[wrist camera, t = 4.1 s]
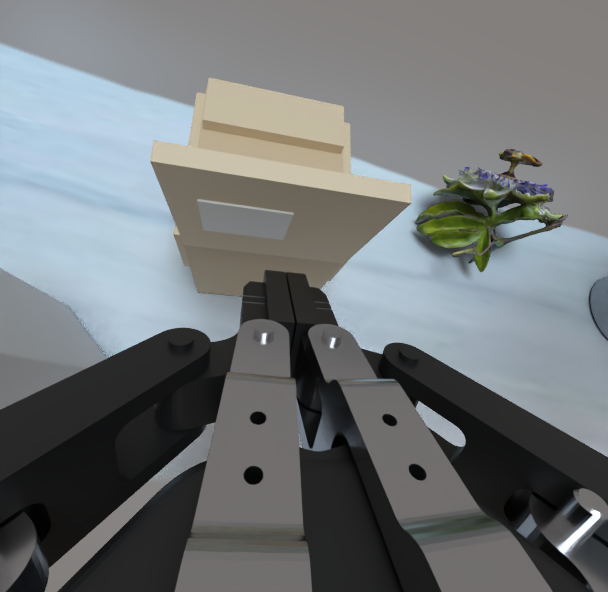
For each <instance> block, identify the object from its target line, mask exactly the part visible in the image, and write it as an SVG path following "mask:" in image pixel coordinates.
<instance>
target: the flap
mask: <svg viewBox="0 0 608 592" xmlns="http://www.w3.org/2000/svg"><path fill="white" fill-rule="evenodd" d="M150 162H151V164H152V166H153V169H154V171H155V174H156V176H157V179H158V181H159V184H160V186H161V189H162V191H163V194H164V196H165V199H166V201H167V204H168V206H169V209H170V211H171V214H172V216H173V219H174V221H175V224H176V226H177V229H178V231H179V234H180V236H181V238H182V241H183V243H184V245H188V246H197V247H205V248H214V249H223V250H231V251H240V252H249V253H257V254H266V255H275V256H283V257H292V258H301V259H309V260H318V261H326V262H335V263H345V262H347V261H348V260H349V259H350V258H351V257H352V256H353V255H354V254H355V253H357V252H358V251H359V250H360V249H361V248H362V247H363V246H364V245H365V244H367V243H368V242H369V241H370V240H371V239H372V238H373V237H374V236H375V235H377V234H378V233H379V232H380V231H381V230H382V229H383V228H384V227H385V226H387V225H388V224H389V223H390V222H391V221H392V220H393V219H394V218H395V217H397V216H398V215H399V214H400V213H401V212H402V211H403V210H404V209H405V208H407V207H408V206H409V205H410V204H411V185H409V184H403V183H398V182H392V181H386V180H380V179H374V178H369V177H363V176H357V175H351V174H346V173H340V172H334V171H328V170H322V169H317V168H311V167H305V166H299V165H294V164H288V163H282V162H276V161H271V160H265V159H259V158H253V157H247V156H242V155H236V154H230V153H224V152H219V151H213V150H207V149H201V148H195V147H190V146H184V145H178V144H172V143H167V142H161V141H155V140H154V142H153V148H152V154H151V160H150Z"/></svg>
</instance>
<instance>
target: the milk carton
mask: <svg viewBox="0 0 608 592" xmlns="http://www.w3.org/2000/svg"><path fill="white" fill-rule="evenodd" d="M105 359H107V357H106V356H105V355H104V353H103V352H102V351H101V349H100V348H99V347H98V345H97V344H96V343H95V341H94V340H93V339H92V337H91V336H90V335H89V333H88V332H87V331H86V329H85V328H84V327H83V325H82V324H81V323H80V321H79V320H78V319H77V317H76V316H75V315H74V313H73V312H72V311H71V309H70V308H69V307H68V306H67V305H66V304H64V303H62V302H60V301H58V300H57V299H55V298H53V297H51V296H49V295H48V294H46V293H44V292H42V291H40V290H39V289H37V288H35V287H33V286H31V285H30V284H28V283H26V282H24V281H22V280H21V279H19V278H17V277H15V276H13V275H12V274H10V273H8V272H6V271H4V270H3V269H1V268H0V410H1V409H3V408H5V407H7V406H9V405H11V404H13V403H15V402H17V401H19V400H21V399H24V398H26V397H28V396H30V395H32V394H34V393H36V392H38V391H40V390H42V389H44V388H47V387H49V386H51V385H53V384H55V383H57V382H59V381H61V380H63V379H65V378H67V377H70V376H72V375H74V374H76V373H78V372H80V371H82V370H84V369H86V368H88V367H90V366H92V365H95V364H97V363H99V362H101V361H103V360H105Z"/></svg>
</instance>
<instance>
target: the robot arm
mask: <svg viewBox="0 0 608 592" xmlns="http://www.w3.org/2000/svg"><path fill="white" fill-rule="evenodd" d="M590 303H591V309H592V313H593V316H594V319H595V321H596V323H597V325H598V327H599V328H600V330H601V331H602V333H603V334H604V335H605V336H606V337H607V338H608V277H604V278H602V279H600V280H599V281H597V282H596V283H595V285H594V287H593V288H592V292H591V300H590ZM418 401H420V402H421V403H423V404H424V405H426V406H427V407H429V408H430V409H432V410H433V411H435V412H436V413H438V414H439V415H441V416H442V417H444V418H445V419H447V420H448V421H450V422H451V423H453V424H454V425H456V426H457V427H458V428H459V429H460V430H461V431H462V432H463V434H464V436H465V439H466V444H465V446H463V447H458V446H454V445H452V444H451V443H449V442H448V441H447V440H445V439H444V438H442V437H441V436H440V435H438V434H437V433H435V432H434V431H432V430H431V429H430V428H428V427H427V426H426V424H425V423H424V421H423V420H422V418H421V417H420V415H419V413H418V412H417V410H416V409H415V408H416V406H417V404H418ZM214 422H216V424H215V428H214V433H213V437H212V442H211V446H210V451H209V455H208V459H207V461H205V462H202V463H200V464H198V465H196V466H194V467H191V468H189V469H188V470H186V471H185V472H183V473H181V474H180V475H178V476H177V477H175V478H174V479H173V480H172V481H170V482H169V483H168V484H166V485H165V486H164V487H163V488H162V489H161V490H160V491H159V492H157V493H156V495H154V496H153V497H152V498H151V499H150V500H149V501H148V502H147V503H146V504H145V505H144V506H143V508H141V509H140V510H139V511H138V512H137V513H136V514H135V515H134V516H133V517H132V518H131V519H130V520H129V521H128V522H127V523H126V524H125V525H124V526H123V527H122V528H121V529H120V530H119V531H118V532H117V533H116V534H115V535H114V536H113V537H112V538H111V539H110V540H109V541H108V542H107V543H106V544H105V545H104V546H103V547H102V548H101V549H100V550H99V551H98V552H97V553H96V554H95V555H94V556H93V557H92V558H91V559H90V560H89V561H88V562H87V563H86V564H85V565H84V566H83V567H82V568H81V569H80V570H79V571H78V572H77V573H76V574H75V575H74V576H73V577H72V578H71V579H70V580H69V581H68V582H67V583H66V584H65V585H64V586H63V587H62V588H61V589H60V590H59V591H58V592H608V457H606V456H604V455H603V454H601V453H599V452H597V451H596V450H594V449H592V448H590V447H589V446H587V445H585V444H583V443H582V442H580V441H578V440H576V439H575V438H573V437H571V436H570V435H568V434H566V433H564V432H563V431H561V430H559V429H557V428H556V427H554V426H552V425H550V424H549V423H547V422H545V421H543V420H542V419H540V418H538V417H536V416H535V415H533V414H531V413H529V412H528V411H526V410H524V409H522V408H521V407H519V406H517V405H515V404H514V403H512V402H510V401H509V400H507V399H505V398H503V397H502V396H500V395H498V394H496V393H495V392H493V391H491V390H489V389H488V388H486V387H484V386H482V385H481V384H479V383H477V382H475V381H474V380H472V379H470V378H468V377H467V376H465V375H463V374H461V373H460V372H458V371H456V370H454V369H453V368H451V367H449V366H448V365H446V364H444V363H442V362H441V361H439V360H437V359H435V358H434V357H432V356H430V355H428V354H427V353H425V352H423V351H421V350H420V349H418V348H416V347H413V346H411V345H408V344H404V343H391V344H388V345H387V346H385V348H384V351H383V354H379V353H375V352H371V351H368V350H364V349H361V348H360V347H359V345H358V343H357V342H356V340H355V338H354V337H353V335H352V334H351V333H350V332H348V331H347V330H345V329H343V328H341V327H339V326H338V324H337V321H336V319H335V316H334V314H333V311H332V310H331V306H330V304H329V301H328V299H327V297H326V295H325V294H324V293H323V292H322V291H321V290H320V289H319V288H315V287H310V286H309V283H308V280H307V277H306V275H305V274H302V273H292V272H286V273H285V272H282V271H273V270H265V272H264V278H263V282H253V281H249V282H248V283H247V284H246V285H245V286H244V287H243V298H242V308H241V318H240V328H239V331H238V333H237V334H236V335H234V336H233V337H231V338H229V339H226V340H222V341H217V342H210V339H209V338H208V336H207V335H206V334H204V333H203V332H201V331H198V330H195V329H191V328H175V329H170V330H166V331H164V332H161V333H159V334H157V335H155V336H153V337H151V338H149V339H147V340H145V341H143V342H141V343H138V344H136V345H134V346H132V347H130V348H128V349H126V350H124V351H122V352H120V353H118V354H115V355H113V356H111V357H109V358H107V359H105V360H103V361H101V362H99V363H97V364H95V365H92V366H90V367H88V368H86V369H84V370H82V371H80V372H78V373H76V374H74V375H72V376H70V377H67V378H65V379H63V380H61V381H59V382H57V383H55V384H53V385H51V386H49V387H47V388H44V389H42V390H40V391H38V392H36V393H34V394H32V395H30V396H28V397H26V398H24V399H21V400H19V401H17V402H15V403H13V404H11V405H9V406H7V407H5V408H3V409H1V410H0V592H44V591H45V588H46V586H47V582H48V576H49V567H51V566H52V565H53V564H54V563H55V562H56V561H58V560H59V559H60V558H61V557H62V556H63V555H64V554H65V553H67V552H68V551H69V550H70V549H71V548H72V547H74V546H75V545H76V544H77V543H78V542H79V541H80V540H81V539H83V538H84V537H85V536H86V535H87V534H88V533H89V532H91V531H92V530H93V529H94V528H95V527H96V526H97V525H99V524H100V523H101V522H102V521H103V520H104V519H105V518H107V517H108V516H109V515H110V514H111V513H112V512H113V511H114V510H116V509H117V508H118V507H119V506H120V505H121V504H123V503H124V502H125V501H126V500H127V499H128V498H129V497H130V496H132V495H133V494H134V493H135V492H136V491H137V490H138V489H140V488H141V487H142V486H143V485H144V484H145V483H146V482H148V481H149V480H150V479H151V478H152V477H153V476H154V475H156V474H157V473H158V472H159V471H160V470H161V469H162V468H163V467H165V466H166V465H167V464H168V463H169V462H170V461H171V460H173V459H174V458H175V457H176V456H177V455H178V454H179V453H181V452H182V451H183V450H184V449H185V448H186V447H187V446H189V445H190V444H191V443H192V442H193V441H194V440H195V439H197V438H198V437H199V436H200V435H201V434H202V432H203V431H204V429H205V427H206V425H207V424H211V423H214ZM298 430H299V434H300V439H301V443H302V447H303V448H299V437H298Z"/></svg>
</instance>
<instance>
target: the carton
mask: <svg viewBox="0 0 608 592" xmlns="http://www.w3.org/2000/svg"><path fill="white" fill-rule="evenodd" d="M188 146H190V147H195V148H201V149H207V150H213V151H219V152H224V153H230V154H236V155H242V156H247V157H253V158H259V159H265V160H271V161H276V162H282V163H288V164H294V165H299V166H305V167H311V168H317V169H322V170H328V171H334V172H340V173H346V174H351V154H350V124H349V123H345V122H344V106H339V105H334V104H330V103H325V102H321V101H316V100H311V99H306V98H302V97H298V96H292V95H288V94H284V93H279V92H274V91H270V90H265V89H260V88H256V87H251V86H246V85H242V84H237V83H233V82H227V81H223V80H218V79H214V78H209V81H208V87H207V89H206V94H203V93H199V92H197V95H196V102H195V107H194V114H193V120H192V126H191V132H190V138H189V144H188ZM174 237H175V240H176V243H177V246H178V248H179V251H180V254H181V257H182V260H183V263H184V266H190V268H191V271H192V274H193V278H194V281H195V284H196V287H197V291H198V293H209V294H220V295H232V296H243V287H244V286H245V285H246V284H247V283H248V282H249V281H253V282H263V278H264V272H265V270H273V271H282V272H285V273H286V272H292V273H302V274H305V275H306V277H307V280H308V283H309V286H310V287H315V288H319V289H321V288H322V287H323V285H324V284H325V283H326V282H327V281H331V279H332V278H333V277H334V276H335V275H336V274H337V273H338V272H339V270H340V269H341V268H342V267H343V266H344V265H345V264H346V262H345V263H335V262H326V261H318V260H309V259H301V258H292V257H283V256H275V255H266V254H257V253H249V252H240V251H231V250H223V249H214V248H205V247H197V246H188V245H184V243H183V241H182V238H181V236H180V234H179V231H178V229H177V226H176V224H175V229H174Z"/></svg>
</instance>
